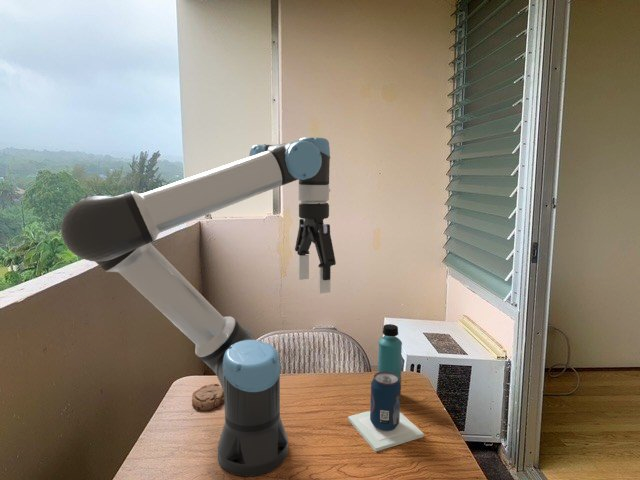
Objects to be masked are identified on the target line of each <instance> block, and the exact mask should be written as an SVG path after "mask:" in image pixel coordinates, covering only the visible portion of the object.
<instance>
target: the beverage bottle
mask: <svg viewBox="0 0 640 480" xmlns="http://www.w3.org/2000/svg"><path fill="white" fill-rule="evenodd" d="M382 327H383V328H382V334H383V335H384V336H382V337H380V338H379V340H378V351H377V352H378V353H377V354H378V355H377V357H378V358H377V368H376V369H377V373H379V372H390V373H393V374H395V375H397V376H398V379H399V382H400V385H401V386H402V369H403V368H402V361H403V358H402V350H403V349H402V348H403V347H402V346H403V342H402V341H401V339H400V338H398V337H397V336H399V327H398V326H397V325H395V324H391V323H388V324H384V325H383V326H382Z"/></svg>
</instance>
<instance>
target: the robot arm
mask: <svg viewBox="0 0 640 480" xmlns="http://www.w3.org/2000/svg"><path fill="white" fill-rule="evenodd" d="M330 149H331V148H330V141H329V140H328V139H327V138H324V137H301V138H299V139H298V140H295V141H292V142H287V143H279V144H267V143H264V144H254V145H252V146H251V148H250V150H249V156H248V157H246V158H243V159H239V160H236V161H234V162H231V163H228V164H225V165H221V166H219V167H216V168H212V169H211V170H208V171H205V172H201V173H199V174H196V175H193V176H190V177H187V178H184V179H181V180H177V181H175V182H172V183H169V184H167V185H164V186H161V187H158V188H155V189H153V190H149V191H146V192H143V193H139V192H136V191H134V190H131V191H127V192H125V193H123V194H119V195H114V196H113V195H111V194H105V193H94V194H89V195H87V196H84V197H83V198H81V199H80V200H78V201H76V202H75V203H74V204H73V205H72V206H71V207H70V208H69V209H68V210H67V211H66V213H65V214H64V216H63V218H62V219H61V220H62V221H61V226H60V231H61V237H62V240H63V243H64V245H65V246H66V247H67V248H68V250H69V251H70V252H71V253H72V254H73V255H74V256H77V257H79V258H80V259H83V260H86V261H89V262H95V263H96V264H97V266H99V267H100V268H101V269H102V270H103V271H105V272H106V273H118V274H119V275H120V276H122V278H124V279H125V280H126V281H127V282H128V283H129V284H130V285H131V286H132V287H133V288H134V289H136V290H137V291H138V292H139V293H140V294H141V295H142V296H143V297H144V298H145V299H146V300H148V302H150V303H151V304H152V306H154V308H156V309H157V310H158V311H159V312H160V313H162V314H163V316H164V317H166V318H167V319H168V320H169V321H170V322H171V323H172V324H173V325H174V326H175V327H176V328H177V329H179V331H180V332H181V333H183V334H184V335H185V336H186V337H187V338H188V339H189V340H190V341H191V342H192V343H194V344H195V349H194V350H195V351H194V352H195V353H194V354H195V355H196V356H197V357H198V358H199V359H200V360H201V361H202V362H204V364H206V366H208V367H209V368H210V369H211V370H212V371H213V372H214V373H215V375H216V377H217V380H218V382H219V383H220V384H219V385H220V386H221V387H222V388H223V391H224V401H223V403H224V424H223V428H222V431H221V434H220V436H219V439H218V444H217V461H218V463H219V464H220V465H219V466H220V467H221V468H222V469H224V471H226V472H228V473H229V474H233V475H234V476H238V477H257V476H262V475H265V474H267V473H271V472H272V471H274V470H276V469H277V468H279V467H280V466H281V465H283V463H284V462H285V460H286V459H287V457H288V454H289V438H288V435H287V432H286V430H285V426H284V424H283V420H282V419H281V411H280V410H281V396H280V395H281V386H280V385H281V384H280V383H281V362H280V356H279V353H278V351H277V349H276V348H275V347H274V346H273V345H271V344H270V343H268V342H264V341H263V342H262V340H259V339H258V340H257V339H255V338H254V336H253V335H252V333H251V332H250V331H249V330H248V329H246V328H244V327H243V326H242V325H241V324H240V323H239V322H238V321H237V320H236V319H235V318H234V317H233V316H230V315H229V316H223V315H222V314H221V313H220V312H219V311H218V310H217V309H216V308H215V307H214V306H213V305H212V304H211V303H210V302H209V300H207V299H206V298H205V297H204V296H203V295H202V294H201V292H199V290H198V289H196V288H195V286H193V285H192V284H191V282H190V281H188V280H187V279H186V277H185V276H183V274H182V273H180V271H178V269H176V267H175V266H173V265H172V263H171V262H169V261H168V259H167V258H166V257H165V256H164V255H163V254H162V253H161V252H160V251H159V250H158V249H157V248H156V247H155V246H154V245H153V244H152V243H153V242H156V240H157V237H158V236H159V234H160V233H164V232H165V231H168V230H171V229H173V228H174V229H175V228H176V227H178V226H180V225H181V226H182V225H185V224H186V223H189V222H191V221H195V220H197V219H199V218H202V217H204V216H207V215H208V214H211V213H214V212H217V211H220V210H222V209H224V208H227V207H229V206H232V205H235V204H238V203H240V202H243V201H245V200H248V199H250V198H253V197H255V196H259V195H261V194H263V193H266V192H268V191H270V190H273V189H276V188H278V187H281V186H285V185H287V184H290V183H293V182H296V181H298V201H300V202H299V204H298V217H299V218H300V219H299V222H298V223H299V224H298V225H299V227H298V231H297V237H296V242H295V247H294V251H295V252H297V253H296V254H297V255H298V280H299V281H302V280H309V279H310V251H309V250H310V248H311V245H312V243H313V245H314V246H315V249H316V253H317V256H318V260H319V264H318V265H317V266H318V294H326V293H331V277H332V275H331V273H332V272H331V270H332V269H331V268H332V266H335V265H336V263H337V262H336V257H335V251H334V247H333V242H332V241H333V240H332V236H331V226H330V225H331V224H328V223H324V220H326V219H328V218H329V216H330V204H329V203H328V202H329V200H330V192H331V188H330V164H331V163H330V162H331V161H330V159H331V150H330Z"/></svg>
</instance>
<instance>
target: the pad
mask: <svg viewBox="0 0 640 480" xmlns="http://www.w3.org/2000/svg"><path fill="white" fill-rule="evenodd" d="M347 421H348V422H349V423H350V424H351V425H352V426H353V427H354V429H355V430H356V431H357V432H358V434H359V435H360V436H361V437H362V438H363V439H364V440H365V441H366V442H367V444H368V445H369V446H370V447H371V449H372V450H373V451H374V452H375V453H376V452H380V451H383V450H386V449H389V448H392V447H395V446H398V445H401V444H406V443H408V442H411V441H415V440H419V439H421V438H424V437H425V434H424V432H423V431H421V429H419V428H418V427H417V426H416V425H415V424H414V423H413V422H411V421H410V420H409V419H408V418H407V417H406V416H405V415H404V414H403V413H402V412H400V419H399V424H398V425H397V427H396V428H395V429H394V430H392V431H381V430H378V429H376V428H375V427H374V426H373V424H372V422H371V420H370V410H367V411H363V412H361V413H360V412H359V413H356V414H352V415H348V416H347Z"/></svg>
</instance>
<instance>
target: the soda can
mask: <svg viewBox="0 0 640 480" xmlns="http://www.w3.org/2000/svg"><path fill="white" fill-rule="evenodd" d="M370 383H371V384H370V404H369V405H370V407H369V411H370V420H371V422H372V424H373V426H374V427H375V428H376V429H378V430H381V431H392V430H394V429H395V428H396V427H397V425H398V424H399V419H400V413H401V394H402V393H401V392H402V391H401V390H402V384H401V385H400V382H399V379H398V376H397V375H395V374H393V373H390V372H379V373H378V372H377V373H375V374H374V375H373V378H372V379H371V382H370Z"/></svg>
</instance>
